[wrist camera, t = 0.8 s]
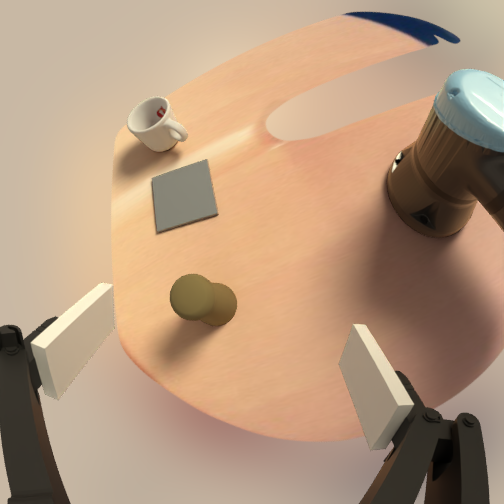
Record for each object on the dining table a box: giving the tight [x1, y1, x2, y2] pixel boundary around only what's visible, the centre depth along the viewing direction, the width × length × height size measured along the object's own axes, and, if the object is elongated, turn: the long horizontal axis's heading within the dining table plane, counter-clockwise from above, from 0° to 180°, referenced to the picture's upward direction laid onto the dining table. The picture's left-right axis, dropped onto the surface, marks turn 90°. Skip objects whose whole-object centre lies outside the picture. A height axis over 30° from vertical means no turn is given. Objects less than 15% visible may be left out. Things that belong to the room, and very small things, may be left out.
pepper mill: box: [170, 274, 237, 326], centre depth 36 cm, size 6×6×11 cm
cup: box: [127, 97, 188, 152], centre depth 46 cm, size 11×8×8 cm
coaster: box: [152, 159, 219, 232], centre depth 46 cm, size 10×10×1 cm
